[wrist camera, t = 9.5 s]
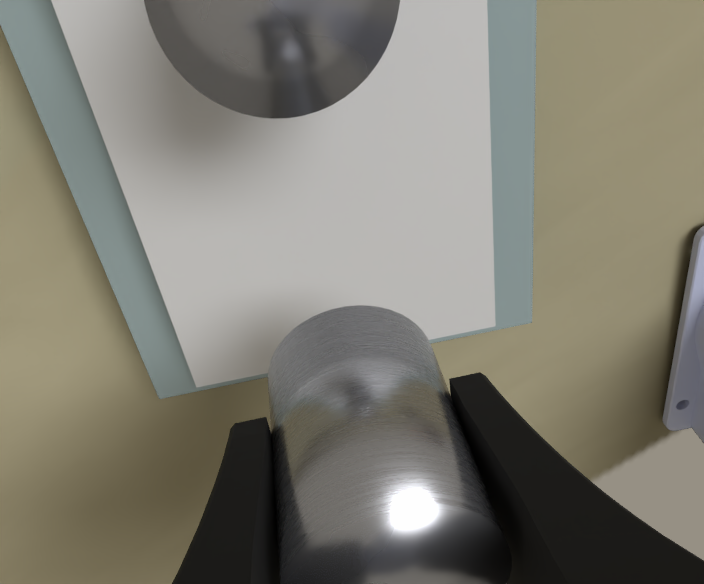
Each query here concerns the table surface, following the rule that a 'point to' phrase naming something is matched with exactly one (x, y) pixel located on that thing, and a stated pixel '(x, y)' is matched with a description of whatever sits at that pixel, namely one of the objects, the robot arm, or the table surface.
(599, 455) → the table surface
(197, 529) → the robot arm
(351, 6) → the cylinder
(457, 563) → the cylinder
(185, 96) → the scale
